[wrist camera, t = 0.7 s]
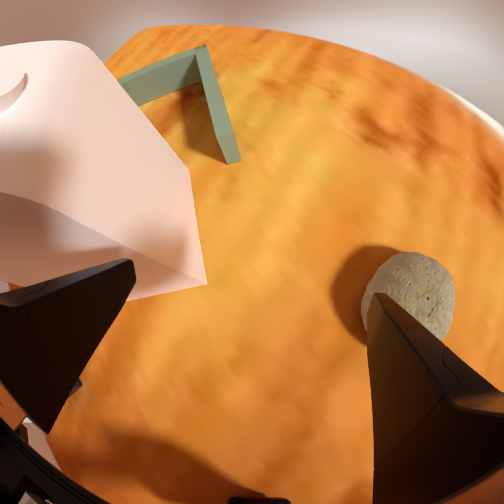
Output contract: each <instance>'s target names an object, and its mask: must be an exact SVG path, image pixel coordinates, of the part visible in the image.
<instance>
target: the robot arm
mask: <svg viewBox="0 0 504 504" xmlns="http://www.w3.org/2000/svg"><path fill="white" fill-rule="evenodd" d="M135 283H136V273H135V267H134V262H133V260H131V259H128V258H121V259H117V260H114V261H110V262H107V263H103V264H100V265H96V266H93V267H90V268H86V269H83V270H80V271H76V272H73V273H70V274H66V275H63V276H60V277H57V278H53V279H51V280H47V281H44V282H40V283H37V284H34V285H30V286H27V287H23V288H19V289H16V290H12V291H8V292H4V293H1V294H0V504H50V503H48V502H46V501H45V500H47V501H49V502H51V503H52V504H111V503H109V502H107V501H106V500H104V499H102V498H100V497H99V496H97V495H95V494H94V493H92V492H90V491H89V490H87V489H86V488H84V487H83V486H81V485H80V484H78V483H77V482H75V481H74V480H72V479H71V478H69V477H68V476H67V475H65V474H64V473H63V472H61V471H60V470H59V469H57V468H56V467H55V466H53V465H52V464H51V463H50V462H48V461H47V460H46V459H45V458H44V457H42V456H41V455H40V454H39V453H37V452H36V451H35V450H34V449H33V448H32V447H31V446H30V445H29V444H28V434H27V428H26V427H25V426H24V425H23V424H22V422H23V421H24V420H25V418H26V417H27V418H28V419H29V420H30V421H32V422H33V423H34V424H35V425H36V426H37V427H39V428H40V429H41V430H42V431H43V432H45V433H46V434H47V435H48V434H49V433H50V431H51V429H52V427H53V425H54V423H55V421H56V419H57V417H58V415H59V413H60V411H61V409H62V407H63V406H64V404H65V402H66V400H67V398H68V396H69V394H70V392H71V391H72V389H73V387H74V385H75V383H76V382H77V380H78V378H79V376H80V375H81V373H82V371H83V370H84V368H85V366H86V365H87V363H88V361H89V360H90V358H91V356H92V355H93V353H94V351H95V350H96V348H97V347H98V345H99V343H100V342H101V340H102V339H103V337H104V335H105V334H106V332H107V331H108V329H109V328H110V326H111V325H112V323H113V322H114V320H115V319H116V317H117V316H118V314H119V312H120V311H121V309H122V307H123V305H124V303H125V302H126V300H127V298H128V296H129V294H130V292H131V291H132V289H133V287H134V285H135ZM367 357H368V366H369V376H370V386H371V398H372V413H373V436H374V468H375V469H374V477H373V500H372V504H504V393H503V392H501V391H499V390H498V389H497V388H495V387H494V386H493V385H492V384H491V383H489V382H488V381H487V380H486V379H484V378H483V377H482V376H481V375H480V374H478V373H477V372H476V371H475V370H473V369H472V368H471V367H470V366H469V365H467V364H466V363H465V362H464V361H462V360H461V359H460V358H459V357H458V356H457V355H456V354H455V353H453V352H452V351H451V350H450V349H449V348H448V347H447V346H445V344H444V343H442V342H441V341H440V340H439V339H438V338H437V337H436V336H435V335H434V334H432V333H431V332H430V331H429V330H428V329H427V328H426V327H425V326H423V325H422V324H421V323H420V322H419V321H418V320H416V319H415V318H414V317H413V316H412V315H411V314H409V313H408V312H407V311H406V310H405V309H404V308H402V307H401V306H400V305H399V304H398V303H396V302H395V301H394V300H393V299H392V298H390V297H389V296H388V295H387V294H386V293H379V292H375V293H374V294H373V296H372V299H371V302H370V306H369V309H368V312H367ZM232 501H234V502H232ZM228 504H291V502H290V501H287V500H255V499H242V498H229V500H228Z"/></svg>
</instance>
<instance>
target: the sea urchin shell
mask: <svg viewBox="0 0 504 504" xmlns="http://www.w3.org/2000/svg"><path fill="white" fill-rule="evenodd" d="M367 284H368V285H367V288H366V291H365V294H364V296H363V298H362V301H361V310H360V311H361V316H362V319H363V324H364V329H365V330H366V332H367V312H368V309H369V306H370V302H371V299H372V296H373V294H374V293H375V292H379V293H386V294H387V295H388V296H389V297H390V298H392V299H393V300H394V301H395V302H396V303H398V304H399V305H400V306H401V307H402V308H404V309H405V310H406V311H407V312H408V313H409V314H411V315H412V316H413V317H414V318H415V319H416V320H418V321H419V322H420V323H421V324H422V325H423V326H425V327H426V328H427V329H428V330H429V331H430V332H431V333H432V334H434V335H435V336H436V337H437V338H438V339H439V340H440V341H441V340H443V338H445V336H446V334H447V332H448V331H449V329H450V326H451V322H452V318H453V315H454V301H455V293H454V292H455V291H454V285H453V279H452V277H451V275H450V274H449V271H448V270H446V269H445V268H444V267H443V266H442V265H441V264H440V263H439V262H438V260H435V259H433V258H430V257H427V256H425V255H423V254H421V253H419V252H418V253H415V252H401V253H398V254H395V255H393V256H392V257H390V258H389V259H388V260H387V261H386V262H384V263H383V264H382V265H381V266H380V267H379V268H378V269H377V270H376V273H375V275H374V276H373V277H372V279H371V280H370V281H369V283H367Z"/></svg>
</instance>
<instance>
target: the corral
mask: <svg viewBox="0 0 504 504" xmlns="http://www.w3.org/2000/svg"><path fill="white" fill-rule="evenodd" d="M117 81H118V83H119V84H120V85H121V86H122V88H123V89H124V90H125V91H126V93H127V94H128V95H129V96H130V98H131V99H132V100H133V101H134V103H135V104H136V105H137V106H140V105H142V104H145V103H147V102H149V101H152V100H154V99H156V98H159V97H161V96H164V95H166V94H169V93H171V92H174V91H177V90H180V89H182V88H185V87H188V86H191V85H194V84H197V83H200V82H203V86H204V91H205V95H206V99H207V103H208V107H209V111H210V115H211V119H212V123H213V127H214V131H215V135H216V138H217V140H218V143H219V145H220V148H221V150H222V152H223V155H224V157H225V160H226V162H227V165H228V164H232V163H235V162H238V161H242V160H241V156H240V153H239V150H238V146H237V143H236V140H235V136H234V133H233V130H232V126H231V123H230V120H229V116H228V113H227V110H226V106H225V103H224V100H223V97H222V93H221V90H220V87H219V84H218V81H217V77H216V74H215V71H214V68H213V65H212V62H211V59H210V56H209V53H208V50H207V47H206V45H203V46H200V47H197V48H194V49H191V50H188V51H185V52H182V53H179V54H176V55H174V56H171V57H168V58H166V59H163V60H161V61H158V62H156V63H153V64H151V65H149V66H146V67H144V68H142V69H139V70H137V71H135V72H133V73H131V74H129V75H127V76H125V77H123V78H121V79H119V80H117Z"/></svg>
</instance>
